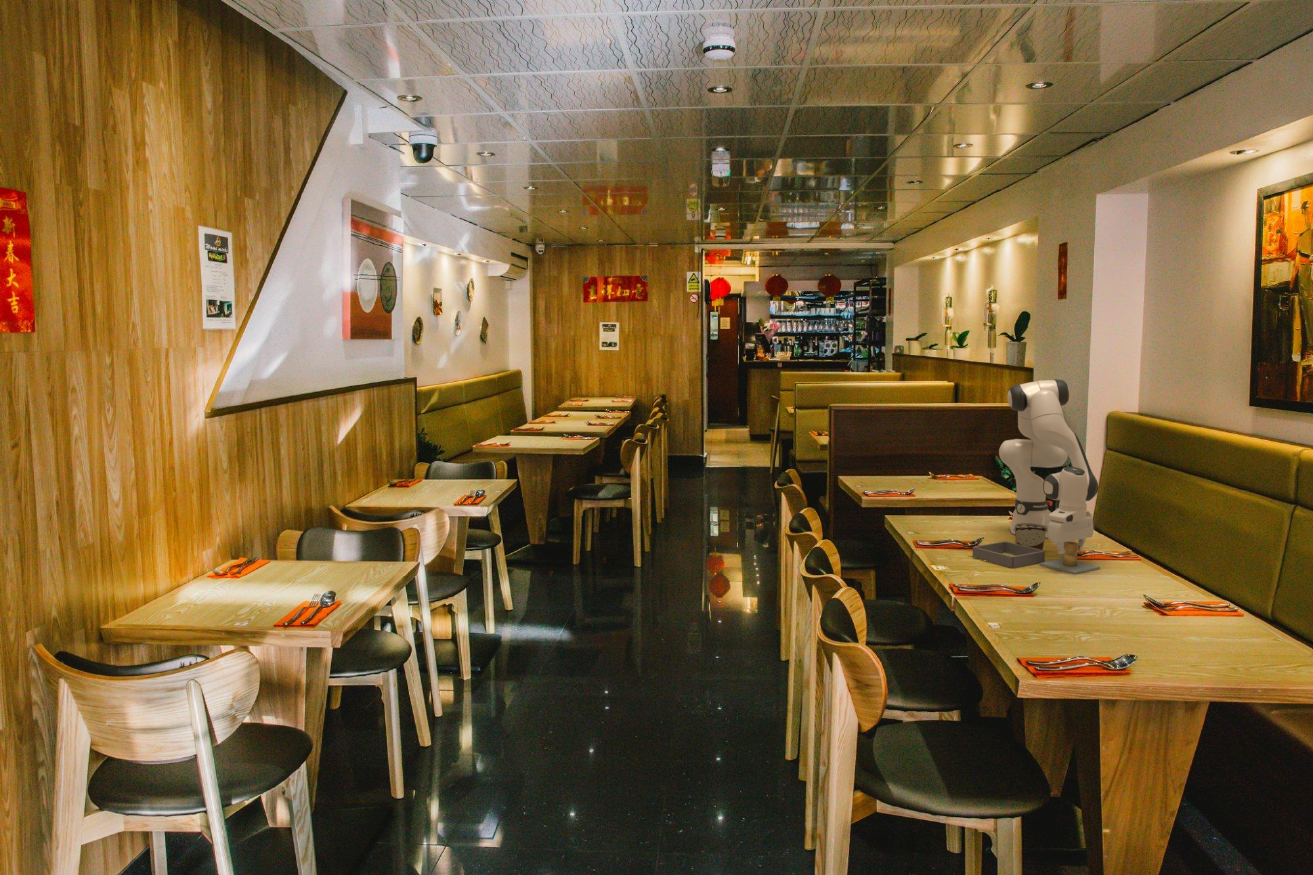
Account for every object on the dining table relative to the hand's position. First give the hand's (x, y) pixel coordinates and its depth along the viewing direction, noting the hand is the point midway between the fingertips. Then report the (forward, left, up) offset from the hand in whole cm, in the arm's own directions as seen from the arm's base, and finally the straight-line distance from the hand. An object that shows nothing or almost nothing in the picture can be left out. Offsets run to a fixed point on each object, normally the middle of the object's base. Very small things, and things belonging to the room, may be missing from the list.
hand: (1070, 552), depth 312 cm
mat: (0, 0, -5) cm, 5 cm away
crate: (+10, -18, -5) cm, 21 cm away
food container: (-8, -24, -6) cm, 26 cm away
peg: (0, 0, -5) cm, 5 cm away
